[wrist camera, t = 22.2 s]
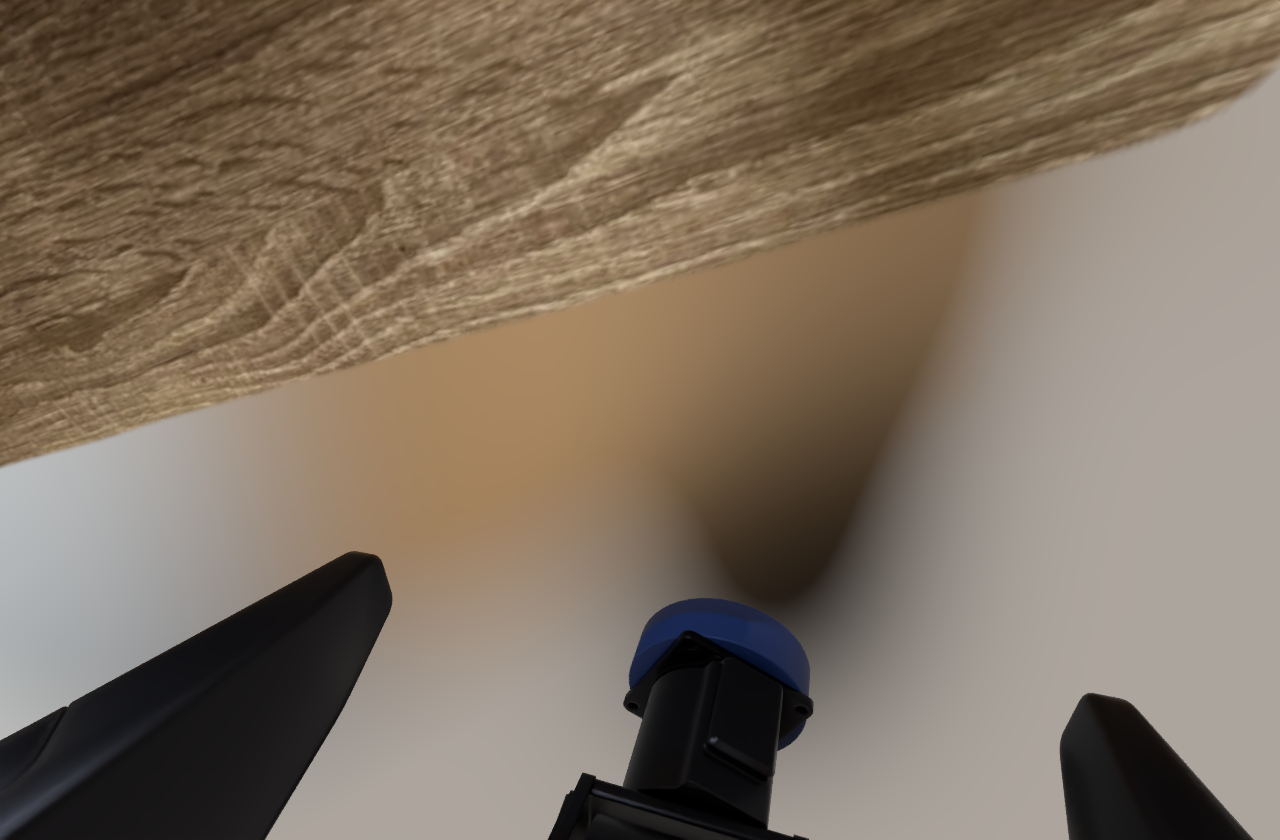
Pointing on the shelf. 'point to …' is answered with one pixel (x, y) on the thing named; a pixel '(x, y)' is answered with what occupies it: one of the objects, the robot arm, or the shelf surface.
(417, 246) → the shelf surface
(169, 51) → the shelf surface
